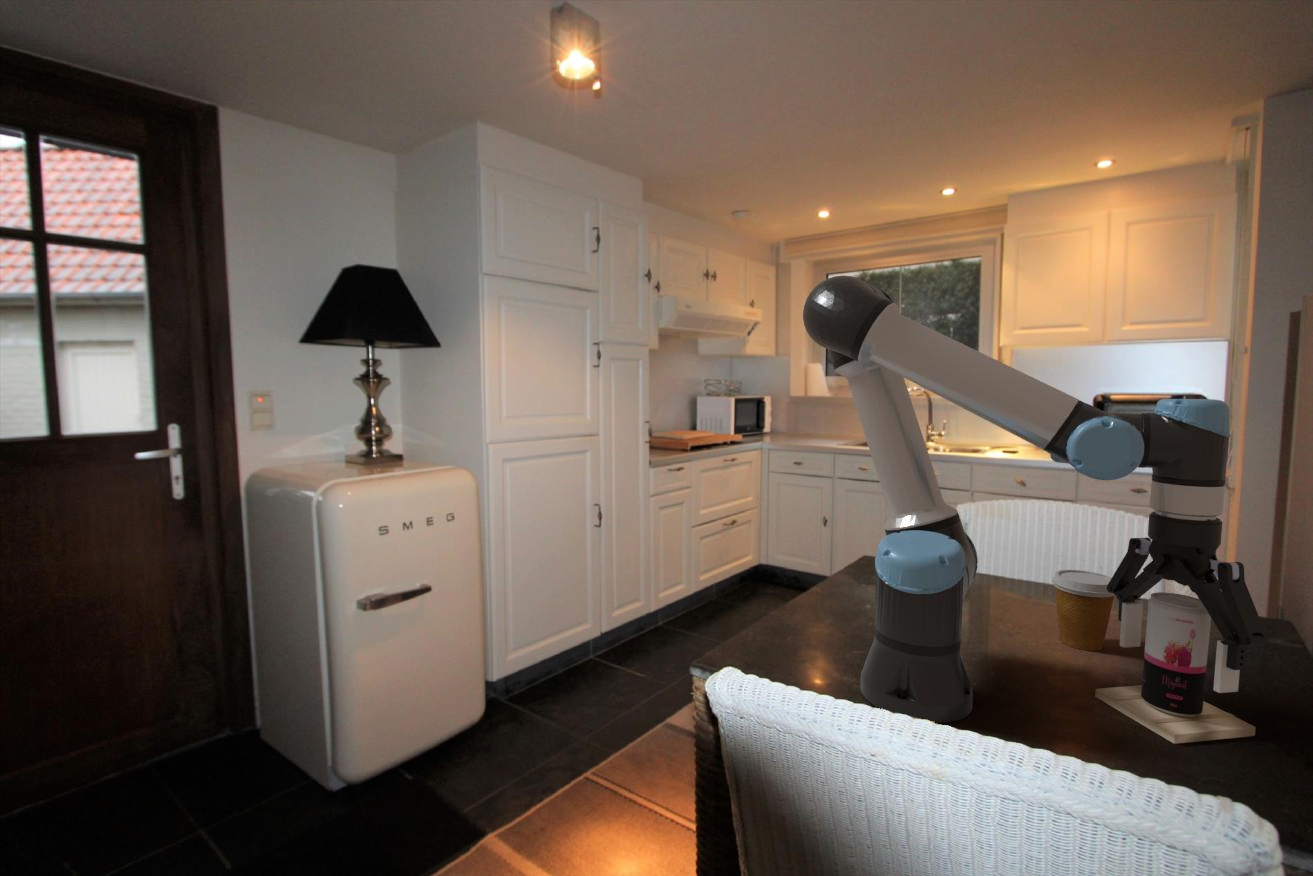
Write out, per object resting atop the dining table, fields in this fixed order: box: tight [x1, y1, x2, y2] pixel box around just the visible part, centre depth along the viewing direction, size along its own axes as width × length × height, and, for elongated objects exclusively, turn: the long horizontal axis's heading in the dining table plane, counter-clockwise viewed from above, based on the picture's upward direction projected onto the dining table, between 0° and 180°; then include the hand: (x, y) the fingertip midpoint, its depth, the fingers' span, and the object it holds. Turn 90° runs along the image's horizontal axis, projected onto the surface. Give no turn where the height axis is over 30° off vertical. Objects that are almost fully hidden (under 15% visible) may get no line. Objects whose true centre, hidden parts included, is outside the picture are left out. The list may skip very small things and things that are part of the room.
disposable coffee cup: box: [1051, 569, 1116, 652], centre depth 109 cm, size 10×10×12 cm
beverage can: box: [1141, 591, 1212, 717], centre depth 85 cm, size 7×7×15 cm
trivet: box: [1094, 684, 1256, 744], centre depth 86 cm, size 12×12×1 cm
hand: (1173, 667), depth 85 cm, fingers open, 13 cm apart
